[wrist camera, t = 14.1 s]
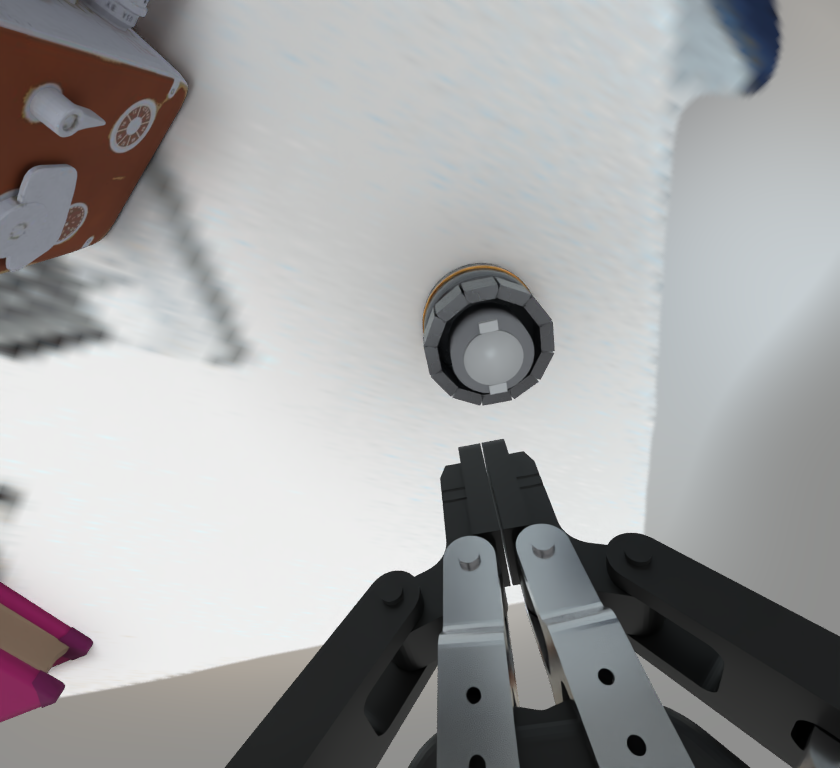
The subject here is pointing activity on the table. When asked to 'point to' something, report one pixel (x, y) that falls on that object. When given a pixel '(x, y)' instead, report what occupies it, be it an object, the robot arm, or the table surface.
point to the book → (32, 654)
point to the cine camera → (75, 121)
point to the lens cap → (490, 348)
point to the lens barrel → (469, 290)
